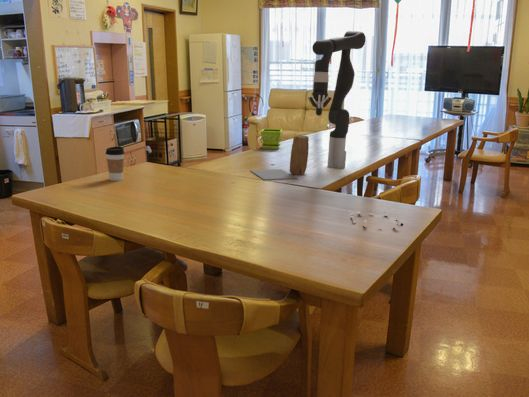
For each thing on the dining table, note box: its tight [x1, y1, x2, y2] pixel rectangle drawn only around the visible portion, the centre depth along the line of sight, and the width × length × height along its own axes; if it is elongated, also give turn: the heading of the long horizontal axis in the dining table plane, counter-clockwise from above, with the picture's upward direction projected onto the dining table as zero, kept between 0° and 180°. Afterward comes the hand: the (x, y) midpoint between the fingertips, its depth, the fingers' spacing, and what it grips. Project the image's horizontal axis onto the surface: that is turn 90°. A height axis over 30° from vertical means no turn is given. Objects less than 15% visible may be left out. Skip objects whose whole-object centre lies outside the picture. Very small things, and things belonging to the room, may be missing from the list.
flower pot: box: [260, 128, 283, 150], centre depth 337 cm, size 14×14×13 cm
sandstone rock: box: [289, 134, 310, 176], centre depth 255 cm, size 11×8×20 cm
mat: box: [249, 168, 298, 181], centre depth 252 cm, size 18×22×1 cm
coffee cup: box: [105, 146, 125, 182], centre depth 227 cm, size 8×8×15 cm
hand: (318, 115), depth 253 cm, fingers closed
